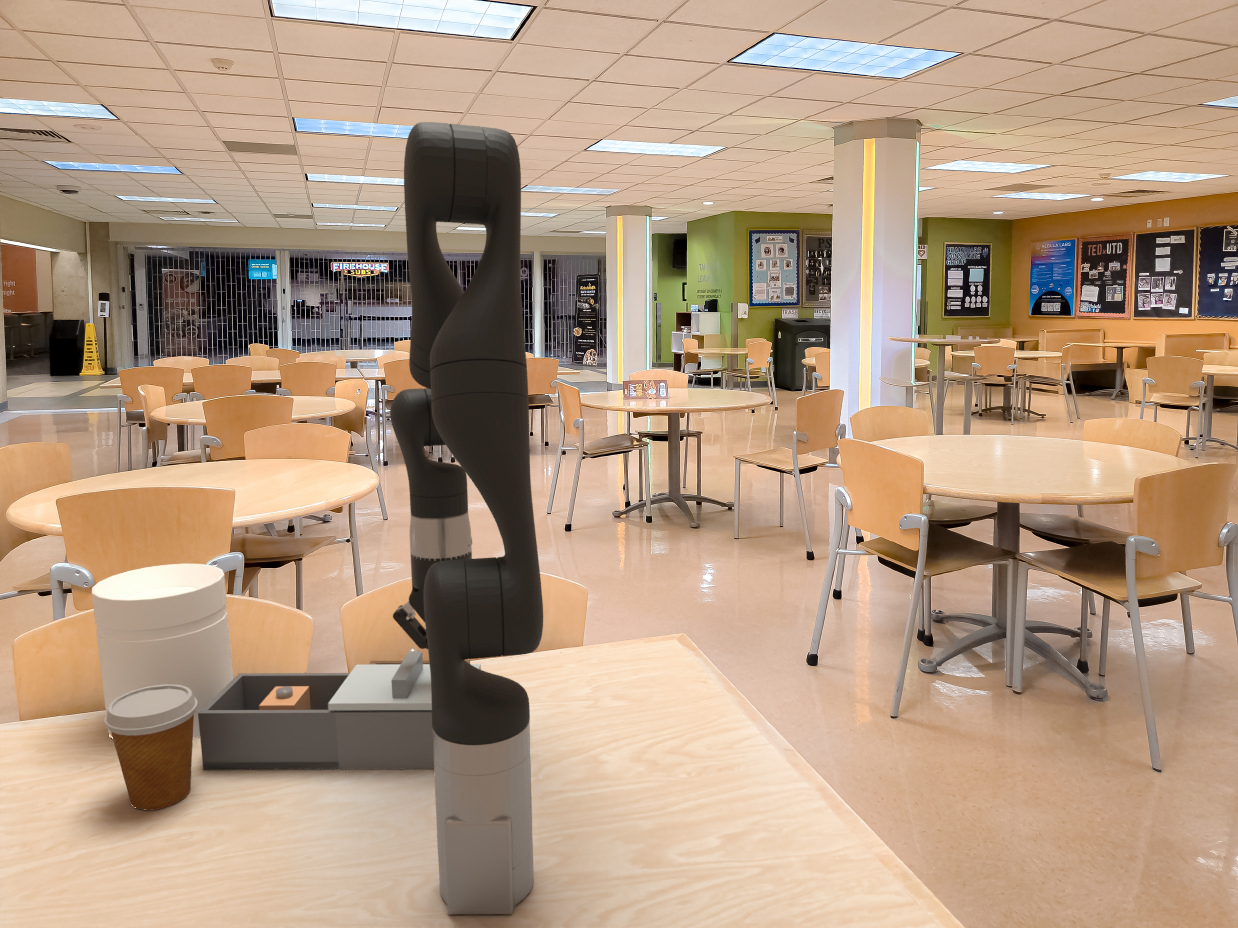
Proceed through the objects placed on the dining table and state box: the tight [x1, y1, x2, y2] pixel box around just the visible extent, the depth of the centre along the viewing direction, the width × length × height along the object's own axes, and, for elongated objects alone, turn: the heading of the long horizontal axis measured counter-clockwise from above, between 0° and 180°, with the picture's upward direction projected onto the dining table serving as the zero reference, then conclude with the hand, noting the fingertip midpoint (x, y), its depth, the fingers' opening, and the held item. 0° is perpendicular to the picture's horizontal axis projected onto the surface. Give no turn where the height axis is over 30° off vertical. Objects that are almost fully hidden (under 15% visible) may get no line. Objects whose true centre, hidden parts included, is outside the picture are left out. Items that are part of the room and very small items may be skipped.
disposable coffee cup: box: [103, 684, 198, 811], centre depth 102 cm, size 10×10×12 cm
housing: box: [198, 672, 434, 771], centre depth 114 cm, size 12×35×8 cm, turn 90°
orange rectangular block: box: [259, 686, 311, 710], centre depth 114 cm, size 6×4×7 cm
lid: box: [328, 651, 482, 710], centre depth 113 cm, size 12×17×3 cm
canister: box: [91, 563, 234, 738], centre depth 121 cm, size 16×16×20 cm
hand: (446, 677), depth 113 cm, fingers closed
